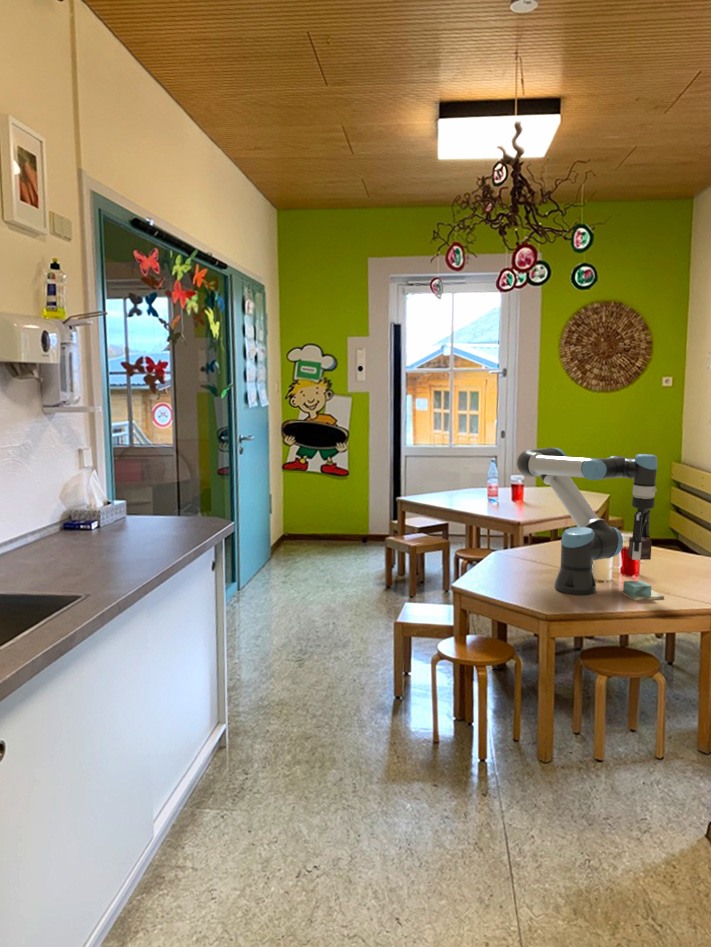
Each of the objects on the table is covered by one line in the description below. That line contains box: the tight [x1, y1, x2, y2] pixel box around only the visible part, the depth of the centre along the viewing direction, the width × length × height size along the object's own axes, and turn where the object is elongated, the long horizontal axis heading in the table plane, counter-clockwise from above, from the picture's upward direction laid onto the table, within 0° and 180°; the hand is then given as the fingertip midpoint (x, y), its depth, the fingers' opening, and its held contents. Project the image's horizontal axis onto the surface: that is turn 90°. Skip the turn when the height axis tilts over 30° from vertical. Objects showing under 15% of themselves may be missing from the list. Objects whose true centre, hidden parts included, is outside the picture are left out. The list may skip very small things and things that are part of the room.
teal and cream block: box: [621, 580, 665, 601], centre depth 265 cm, size 12×8×5 cm, turn 100°
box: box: [628, 536, 653, 561], centre depth 262 cm, size 6×6×7 cm
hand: (639, 557), depth 263 cm, fingers closed on box, 8 cm apart
